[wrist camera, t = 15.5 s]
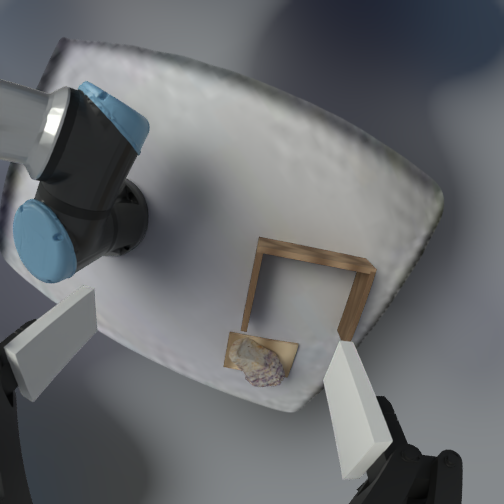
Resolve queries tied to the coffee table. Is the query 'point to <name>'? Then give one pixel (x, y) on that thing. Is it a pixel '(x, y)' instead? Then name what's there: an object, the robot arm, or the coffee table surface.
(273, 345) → the mat
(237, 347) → the mineral specimen
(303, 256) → the brown open u-shaped frame
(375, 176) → the coffee table surface
